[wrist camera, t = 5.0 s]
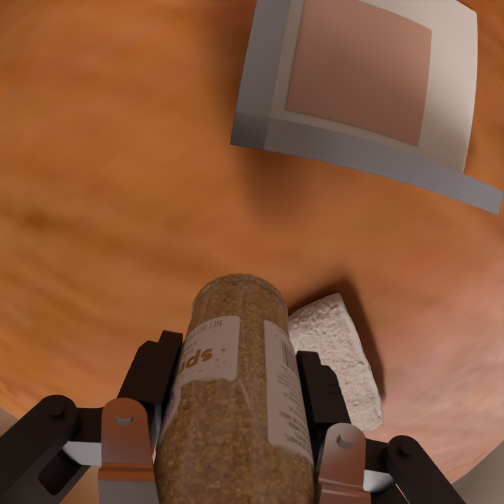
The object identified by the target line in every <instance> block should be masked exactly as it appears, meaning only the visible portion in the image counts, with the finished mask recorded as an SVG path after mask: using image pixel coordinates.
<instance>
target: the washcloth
mask: <svg viewBox="0 0 504 504" xmlns="http://www.w3.org/2000/svg"><path fill="white" fill-rule="evenodd" d="M287 325H288V330H289V337H290V341H291V343H292V345H293V347H294V351H295V356H296V353H297V351H298V350H302V351H313V352H318V354H319V358H320V361H321V365H329V367H330V368H331V369H332V370H333V371H334V372H335V374H336V375H337V378H338V382H339V386H340V388H341V391H342V395H343V398H344V401H345V404H346V407H347V410H348V414H349V417H350V420H351V423H352V425H354V426H356V427H357V428H359V429H360V430H361V431H362V432H363V433H366V432H369V431H371V430H375V429H376V428H378V427H379V426H380V425H381V423H382V421H383V411H382V407H381V398H380V394H379V391H378V388H377V385H376V383H375V380H374V377H373V375H372V371H371V366H370V364H369V363H368V360H367V358H366V356H365V353H364V351H363V348H362V345H361V342H360V339H359V336H358V333H357V331H356V328H355V326H354V323H353V321H352V320H351V317H350V316H349V314H348V311H347V308H346V306H345V304H344V301H343V299H342V296H341V294H340V293H335V294H331V295H328V296H326V297H324V298H321V299H319V300H317V301H314V302H312V303H310V304H307V305H306V306H303V307H302V308H299V309H298V310H296V311H295V312H293V313H292V315H290V316H288V323H287Z"/></svg>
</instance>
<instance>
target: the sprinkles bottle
mask: <svg viewBox="0 0 504 504" xmlns="http://www.w3.org/2000/svg"><path fill="white" fill-rule="evenodd" d="M287 323H288V308H287V305H286V302H285V301H284V299H283V297H282V295H281V294H280V292H279V291H278V290H277V289H276V288H275V287H274V286H273V285H271V284H270V283H269V282H267V281H265V280H263V279H261V278H259V277H256V276H254V275H251V274H230V275H228V276H223V277H219V278H217V279H215V280H213V281H211V282H209V283H208V284H206V285H205V286H204V287H203V288H202V289H201V290H200V292H199V293H198V294H197V296H196V298H195V299H194V301H193V305H192V308H191V321H190V324H189V327H188V331H187V335H186V339H185V341H184V342H183V345H182V347H181V350H180V354H179V357H178V361H177V365H176V369H175V373H174V377H173V381H172V385H171V389H170V392H169V396H168V401H167V405H166V409H165V412H164V416H163V420H162V424H161V428H160V432H159V436H158V440H157V443H156V458H155V461H154V465H153V469H154V475H155V482H156V488H157V494H158V499H159V504H314V494H315V486H314V478H313V475H314V462H313V455H312V449H311V443H310V437H309V431H308V425H307V419H306V413H305V407H304V402H303V396H302V390H301V384H300V378H299V373H298V367H297V362H296V356H295V351H294V347H293V345H292V343H291V341H290V337H289V330H288V325H287Z"/></svg>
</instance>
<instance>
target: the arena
mask: <svg viewBox="0 0 504 504" xmlns="http://www.w3.org/2000/svg"><path fill="white" fill-rule="evenodd" d="M476 77H477V13H476V12H474V11H473V10H471V9H469V8H468V7H466V6H465V5H463V4H461V3H460V2H458V1H456V0H257V4H256V8H255V13H254V18H253V22H252V27H251V32H250V37H249V42H248V47H247V52H246V57H245V62H244V67H243V73H242V78H241V83H240V89H239V94H238V100H237V106H236V111H235V117H234V123H233V129H232V135H231V141H230V145H236V146H243V147H249V148H255V149H261V150H267V151H273V152H278V153H284V154H289V155H294V156H299V157H304V158H309V159H313V160H318V161H323V162H327V163H331V164H336V165H340V166H344V167H348V168H352V169H356V170H360V171H364V172H368V173H372V174H375V175H379V176H383V177H386V178H390V179H393V180H397V181H400V182H404V183H407V184H410V185H414V186H417V187H420V188H423V189H426V190H429V191H432V192H436V193H439V194H442V195H444V196H447V197H450V198H453V199H456V200H459V201H462V202H464V203H467V204H470V205H472V206H475V207H478V208H480V209H483V210H486V211H488V212H491V213H493V214H496V215H498V213H499V209H500V205H501V201H502V197H503V193H504V192H502V191H500V190H498V189H496V188H494V187H492V186H490V185H488V184H486V183H483V182H481V181H479V180H477V179H474V178H472V177H470V176H468V175H465V174H463V171H464V167H465V162H466V156H467V151H468V145H469V140H470V133H471V126H472V119H473V111H474V102H475V91H476Z"/></svg>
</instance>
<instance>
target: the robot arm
mask: <svg viewBox="0 0 504 504" xmlns="http://www.w3.org/2000/svg"><path fill="white" fill-rule="evenodd" d="M182 341H183V334H182V333H176V332H171V331H166V330H163V332H162V334H161V337H160V339H159V342H153V341H149V340H148V341H147V342H145V343H144V344H143V345H142V346H140V347H139V348H138V351H137V353H136V355H135V357H134V360H133V362H132V364H131V367H130V369H129V371H128V373H127V375H126V378H125V380H124V382H123V385H122V387H121V389H120V392H119V394H118V396H117V398H116V399H113V400H111V401H109V402H108V403H107V404H106V405H105V406H104V407H102V408H76V405H75V404H74V402H73V401H72V400H71V399H69V398H68V397H65V396H62V395H50V396H47V397H45V398H44V399H42V400H41V401H40V402H39V403H38V404H37V405H36V406H34V407H33V408H32V409H31V410H30V411H29V412H28V413H27V414H25V415H24V416H23V417H22V418H21V419H20V420H19V421H18V422H17V423H15V424H14V425H13V426H12V427H11V428H10V429H9V430H8V431H7V432H6V433H5V434H4V435H2V436H1V437H0V504H59V503H60V502H61V501H62V500H63V498H64V497H65V496H66V495H67V494H68V492H69V491H70V490H71V489H72V488H73V487H74V485H75V484H76V483H77V482H78V481H79V479H80V478H81V477H82V476H83V475H84V473H85V472H86V471H87V470H88V469H89V467H90V466H91V465H95V466H101V468H99V470H98V492H99V504H159V499H158V494H157V488H156V482H155V475H154V469H153V459H152V455H153V452H154V448H155V444H156V443H157V440H158V436H159V432H160V428H161V424H162V420H163V416H164V412H165V409H166V405H167V401H168V396H169V392H170V389H171V385H172V381H173V377H174V373H175V369H176V365H177V361H178V357H179V354H180V350H181V347H182ZM296 362H297V367H298V373H299V378H300V384H301V390H302V396H303V402H304V407H305V413H306V419H307V425H308V431H309V437H310V443H311V449H312V455H313V462H314V475H313V478H314V486H315V494H314V504H409V503H410V504H466V503H465V502H464V501H463V500H462V498H461V497H460V496H459V494H458V493H457V492H456V490H455V489H454V488H453V487H452V485H451V484H450V483H449V481H448V480H447V479H446V478H445V476H444V475H443V474H442V472H441V471H440V470H439V469H438V467H437V466H436V465H435V464H434V462H433V461H432V460H431V458H430V457H429V456H428V455H427V453H426V452H425V451H424V450H423V448H422V447H421V446H420V444H419V443H418V442H417V441H416V440H415V439H413V438H411V437H409V436H405V435H399V436H395V437H394V438H392V439H391V440H390V441H389V443H385V442H380V441H375V440H370V439H367V438H365V436H364V434H363V432H362V431H361V430H360V429H359V428H357V427H356V426H354V425H352V423H351V420H350V417H349V414H348V410H347V407H346V404H345V401H344V398H343V395H342V391H341V388H340V386H339V382H338V378H337V375H336V374H335V372H334V371H333V370H332V369H331V368H330V367H329V365H321V361H320V358H319V354H318V352H313V351H302V350H298V351H297V353H296ZM396 484H397V485H398V487H399V488H400V490H401V491H402V493H403V494H404V495H405V497H406V498H407V500H408V501H409V503H408V502H407V500H406V499H405V497H404V496H403V495H402V493H401V492H400V490H399V489H398V487H397V486H396Z"/></svg>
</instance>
